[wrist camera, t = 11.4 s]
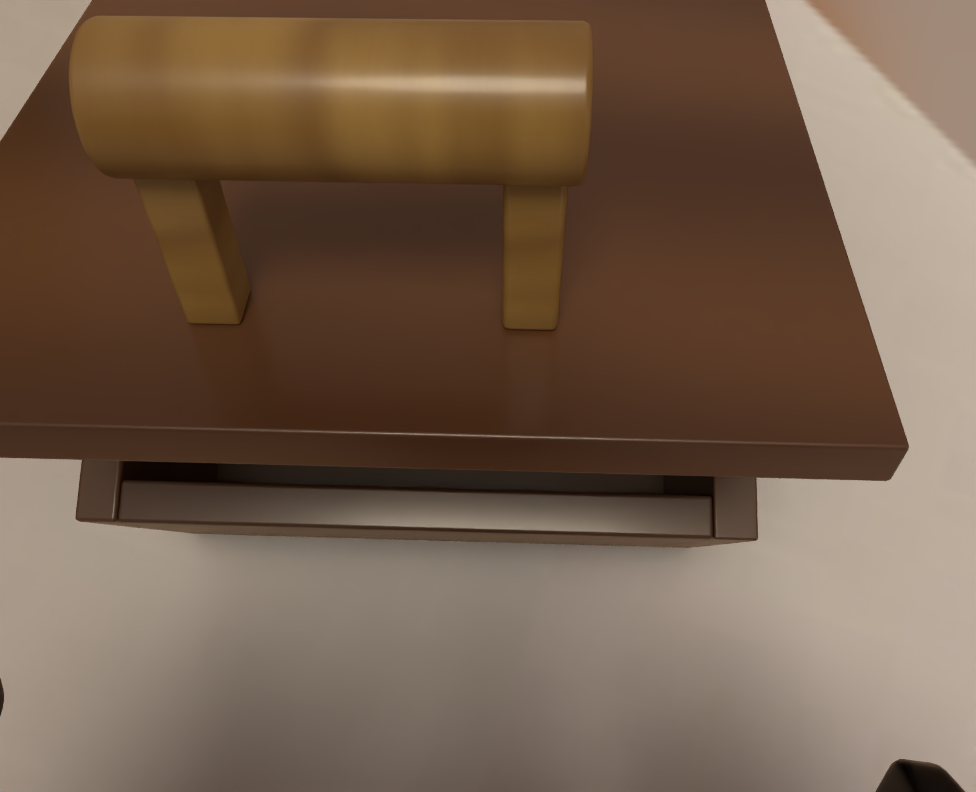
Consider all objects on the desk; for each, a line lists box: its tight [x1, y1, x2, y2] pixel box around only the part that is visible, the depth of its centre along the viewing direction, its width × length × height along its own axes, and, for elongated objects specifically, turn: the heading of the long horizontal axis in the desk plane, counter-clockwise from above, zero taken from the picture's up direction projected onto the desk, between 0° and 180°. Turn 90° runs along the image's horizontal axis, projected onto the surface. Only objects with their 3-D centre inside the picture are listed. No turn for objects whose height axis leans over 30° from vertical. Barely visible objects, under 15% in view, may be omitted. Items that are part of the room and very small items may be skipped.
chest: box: [76, 460, 758, 548], centre depth 21 cm, size 11×13×6 cm
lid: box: [0, 0, 909, 481], centre depth 13 cm, size 12×13×4 cm
